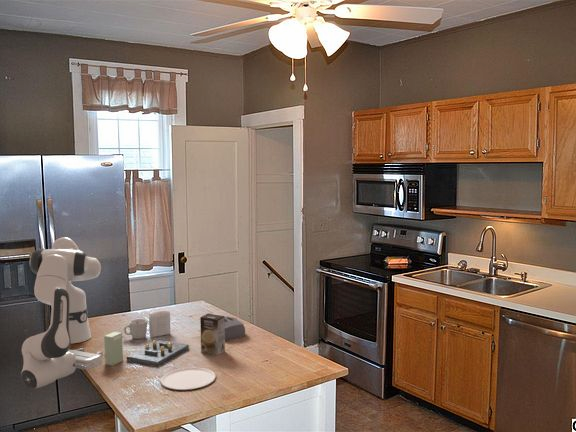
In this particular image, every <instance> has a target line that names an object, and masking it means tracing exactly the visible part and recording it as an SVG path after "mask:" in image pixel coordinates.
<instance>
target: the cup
mask: <svg viewBox="0 0 576 432" xmlns="http://www.w3.org/2000/svg"><path fill="white" fill-rule="evenodd" d="M147 327H148V320H147V319H145V318H137V319H133V320H130V321H129V324H126V325H125V326H124V327H123V332H124V334H125V335H126V336H131V338H132V339H135V340H142V339H144V338H146V337H147ZM127 328H129V332H128V331H126V330H127Z"/></svg>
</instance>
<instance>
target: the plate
mask: <svg viewBox="0 0 576 432" xmlns="http://www.w3.org/2000/svg"><path fill="white" fill-rule="evenodd" d="M216 376H217V375H216V373H215V372H214V371H213V370H210V369H208V368H205V367H192V366H191V367H182V368H177V369H175V370H172V371H169V372H167V373H166V374H164V375H163V376H162V377H161V378H160V385H162V386H163V387H164V388H166V389H169V390H175V391H193V390H200V389H202V388H204V387H207V386H209V385H211V384H212V383H214V381H216V378H217V377H216Z"/></svg>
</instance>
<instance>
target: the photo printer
mask: <svg viewBox="0 0 576 432" xmlns="http://www.w3.org/2000/svg"><path fill="white" fill-rule="evenodd" d="M148 314H149V315H148V325H149V328H148V329H149V330H148V331H149V338H156V337H162V336H165V335H166V336H168V335H171V312H170V310H168V309H157V310H153V311H151V312H150V313H148Z"/></svg>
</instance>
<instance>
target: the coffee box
mask: <svg viewBox="0 0 576 432" xmlns="http://www.w3.org/2000/svg"><path fill="white" fill-rule="evenodd" d="M225 317H226V316H225V315H221V314H220V315H219V314H213V313H206V314H204V315H202V316H201V317H200V319H199V321H200V353H203V354H208V355H211V356H219V355H221V354H222V353H223V354H224V352H225V351H226V340H225Z"/></svg>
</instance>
